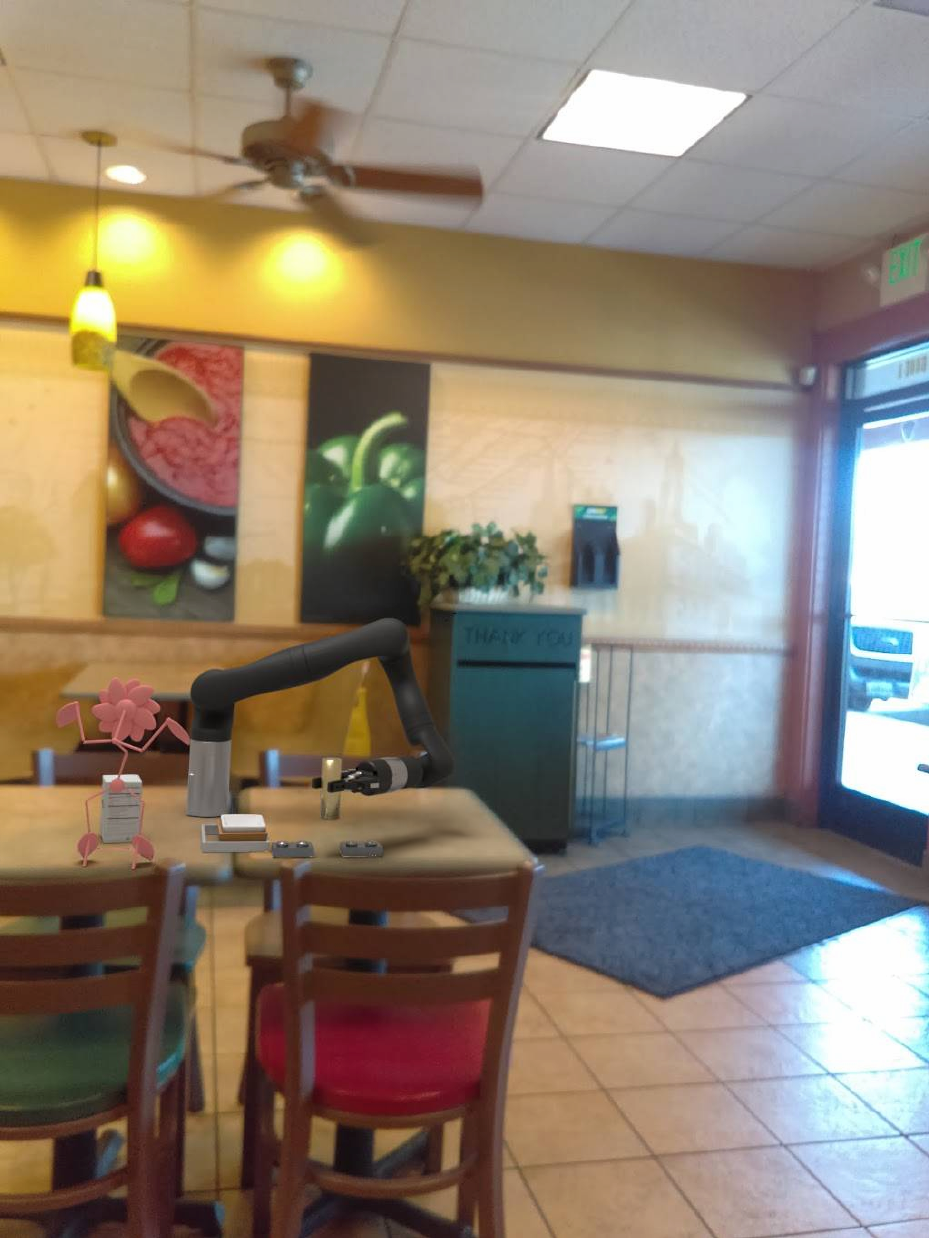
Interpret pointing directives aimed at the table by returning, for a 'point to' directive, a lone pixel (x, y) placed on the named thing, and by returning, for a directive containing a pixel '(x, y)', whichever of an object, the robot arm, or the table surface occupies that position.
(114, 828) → the supplement box
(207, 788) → the robot arm
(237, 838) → the soap dish
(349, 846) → the chain end
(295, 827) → the table surface
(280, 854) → the block
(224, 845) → the coaster tray
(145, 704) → the pink flower figurine
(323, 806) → the link pin
